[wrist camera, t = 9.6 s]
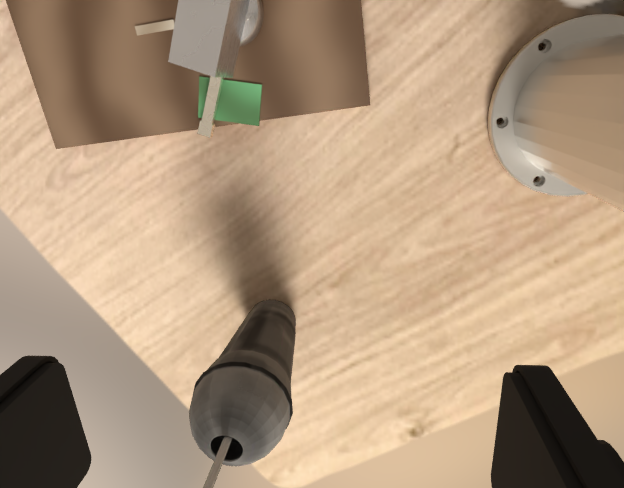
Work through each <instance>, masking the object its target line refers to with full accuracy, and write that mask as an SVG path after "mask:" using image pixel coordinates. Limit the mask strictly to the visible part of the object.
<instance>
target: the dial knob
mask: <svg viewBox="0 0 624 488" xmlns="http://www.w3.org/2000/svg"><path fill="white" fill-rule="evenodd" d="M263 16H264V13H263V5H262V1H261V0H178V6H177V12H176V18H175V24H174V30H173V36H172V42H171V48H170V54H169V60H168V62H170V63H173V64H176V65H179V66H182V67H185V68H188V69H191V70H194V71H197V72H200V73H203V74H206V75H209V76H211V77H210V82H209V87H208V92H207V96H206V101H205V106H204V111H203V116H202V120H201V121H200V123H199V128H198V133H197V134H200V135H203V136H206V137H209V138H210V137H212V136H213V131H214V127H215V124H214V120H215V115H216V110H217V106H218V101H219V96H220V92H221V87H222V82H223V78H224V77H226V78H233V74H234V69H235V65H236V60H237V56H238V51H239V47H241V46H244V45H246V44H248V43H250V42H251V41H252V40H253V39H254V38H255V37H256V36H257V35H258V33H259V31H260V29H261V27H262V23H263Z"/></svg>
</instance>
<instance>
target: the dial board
mask: <svg viewBox="0 0 624 488" xmlns="http://www.w3.org/2000/svg"><path fill="white" fill-rule="evenodd" d="M261 1H262V5H263V13H264V16H263V23H262V27H261V29H260V31H259V33H258V35H257V36H256V37H255V38H254V39H253V40H252V41H251V42H250V43H248V44H246V45H244V46H241V47H239V51H238V56H237V60H236V65H235V69H234V74H233V78H226V77H224V78H223V82H222V87H221V92H220V96H219V101H218V106H217V110H216V115H215V120H214V124H215V127H217V126H224V125H232V124H239V123H241V124H249V125H256V126H259V121H260V120H267V119H275V118H282V117H289V116H296V115H303V114H311V113H318V112H325V111H332V110H339V109H346V108H354V107H361V106H368V105H370V97H369V86H368V75H367V63H366V52H365V41H364V29H363V18H362V7H361V0H261ZM6 2H7V5H8V8H9V11H10V14H11V17H12V20H13V23H14V26H15V29H16V32H17V35H18V38H19V41H20V44H21V47H22V50H23V52H24V55H25V58H26V61H27V64H28V67H29V70H30V73H31V76H32V79H33V82H34V85H35V88H36V91H37V94H38V97H39V100H40V103H41V106H42V109H43V112H44V114H45V117H46V120H47V123H48V126H49V129H50V132H51V135H52V138H53V141H54V144H55V147H56V149H60V148H67V147H74V146H81V145H88V144H95V143H103V142H110V141H117V140H124V139H131V138H138V137H146V136H153V135H160V134H167V133H174V132H181V131H189V130H196V129H198V128H199V123H200V121H201V120H202V116H203V111H204V106H205V101H206V96H207V92H208V87H209V82H210V77H211V76H209V75H206V74H203V73H200V72H197V71H194V70H191V69H188V68H185V67H182V66H179V65H176V64H173V63H170V62H168V60H169V54H170V48H171V42H172V36H173V30H174V24H175V18H176V12H177V6H178V0H6Z"/></svg>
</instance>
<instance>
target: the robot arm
mask: <svg viewBox="0 0 624 488" xmlns="http://www.w3.org/2000/svg"><path fill="white" fill-rule="evenodd" d="M540 43H542V44H543V49H542V50H541V51H539V49H538V46H539V44H540ZM498 118H502V122H501V124H499V125H498V124H497V123H496V121H497V119H498ZM488 131H489V138H490V143H491V146H492V148H493V151H494V154H495V156H496V158H497V159H498V161H499V162H500V164H501V165H502V167H503V168H504V169H505V170H506V171H507V172H508V173H509V174H510V175H511V176H512V177H513V178H514V179H515V180H517V181H518V182H520V183H521V184H523V185H524V186H526V187H528V188H530V189H532V190H534V191H536V192H540V193H544V194H548V195H552V196H566V197H569V196H579V195H586V194H590V195H592V196H594V197H596V198H598V199H600V200H602V201H604V202H606V203H608V204H610V205H611V206H613V207H615V208H617V209H619V210H621V211H623V212H624V16H620V15H613V14H595V15H586V16H582V17H578V18H574V19H571V20H568V21H565V22H562V23H559V24H557V25H554V26H553V27H551V28H549V29H547V30H545V31H544V32H542V33H540V34H538V35H537V36H536V37H535V38H533V39H532V40H531V41H530V42H528V43H527V44H526V45H524V46H523V47H522V48H521V49H520V51H519V52H518V53H517V54H516V55H515V56H514V57H513V58H512V59H511V60H510V62H509V63H508V65H507V66H506V68H505V70H504V71H503V73H502V74H501V76H500V77H499V80H498V82H497V84H496V87H495V89H494V91H493V94H492V98H491V102H490V106H489V113H488ZM536 176H538V179H537V181H535V182H533V180H534V178H535V177H536ZM90 464H91V454H90V450H89V447H88V443H87V440H86V437H85V434H84V431H83V427H82V424H81V420H80V417H79V414H78V411H77V408H76V404H75V401H74V397H73V394H72V391H71V388H70V385H69V381H68V378H67V375H66V371H65V368H64V366H63V365H62V364H60V363H59V362H58V360H57V359H56V358H55V357H52V356H25V357H22V358H21V359H19V360H18V361H17V362H16V363H14V364H13V365H12V366H11V367H10V368H8V369H7V370H6V371H5V372H3V373H2V374H1V375H0V488H77V487H78V485H79V484H80V482H81V481H82V480H83V478H84V476H85V475H86V474H87V472H88V470H89V467H90ZM491 483H492V488H624V462H623V461H622V459H621V458H620V456H619V455H618V453H617V452H616V451H615V450H614V448H613V447H612V446H611V445H610V444H609V443H607V442H606V441H604V440H597V438H596V437H595V435H594V434H593V432H592V431H591V429H590V428H589V426H588V424H587V423H586V421H585V420H584V418H583V417H582V415H581V414H580V412H579V411H578V410H577V408H576V406H575V405H574V403H573V402H572V400H571V399H570V397H569V396H568V394H567V393H566V391H565V390H564V388H563V387H562V385H561V384H560V382H559V381H558V379H557V378H556V376H555V375H554V373H553V371H552V370H551V369H550V368H549V367H548V366H540V365H516V366H515V367H514V369H513V372H512V373H508V372H506V373H505V374H504V377H503V383H502V391H501V399H500V407H499V415H498V423H497V432H496V440H495V447H494V455H493V462H492V470H491Z"/></svg>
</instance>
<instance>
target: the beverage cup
mask: <svg viewBox="0 0 624 488" xmlns="http://www.w3.org/2000/svg"><path fill="white" fill-rule="evenodd" d="M295 326H296V319H295V316H294V313H293V311H292V310H291V309H290V308H289V307H288V306H287V305H285V304H284V303H282V302H279V301H276V300H266V301H262V302H260V303H258V304H257V305H255V306H254V308H253V309H252V310H251V312H250V313H249V314H248V315H247V317H246V318H245V320H244V321H243V323H242V324H241V325H240V327H239V328H238V330H237V331H236V333H235V334H234V336H233V337H232V339H231V340H230V342H229V343H228V345H227V346H226V348H225V349H224V351H223V352H222V354H221V355H220V357H219V358H218V359H217V360H216V361H215V362H214V363H213V364H212V365H211V366H210V367H209V369H208V370H207V371H205V372H203V374H202V375H201V376H200V378H199V379H198V380H197V382H196V384H195V388H194V392H193V397H192V401H191V405H190V410H189V419H190V426H191V431H192V435H193V437H194V439H195V441H196V443H197V445H198V446H199V448H200V449H201V450H202V451H203V452H204V453H205V454H206V455H207V456H208V457H209V458H211V459H212V460H214V463H213V465H212V467H211V470H210V472H209V475H208V477H207V480H206V482H205V484H204V487H203V488H213V487H214V484H215V481H216V479H217V476H218V474H219V471H220V469H221V466H222V464H223V465H229V466H242V465H248V464H251V463H253V462H256V461H257V460H259V459H261V458H263V457H265V456H266V455H267V454H269V453H270V451H271V450H272V449H273V448H274V447H275V446H276V445H277V444H278V443H279V441H280V440H281V438H282V436H283V434H284V432H285V429H286V428H287V427H288V425H289V422H290V419H291V416H292V414H293V411H292V399H291V374H292V364H293V354H294V344H295V334H296V333H295Z"/></svg>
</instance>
